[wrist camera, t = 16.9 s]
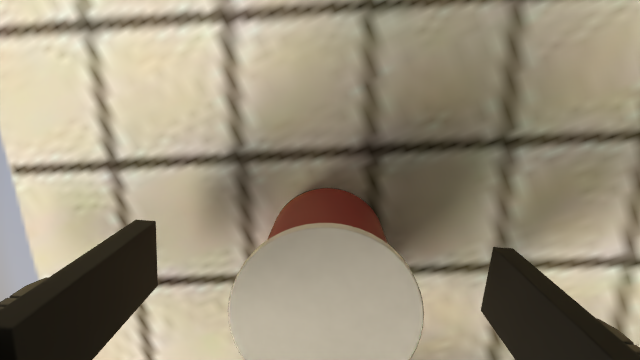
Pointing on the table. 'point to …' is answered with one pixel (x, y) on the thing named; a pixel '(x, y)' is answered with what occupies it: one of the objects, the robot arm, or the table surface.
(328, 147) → the table surface
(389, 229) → the table surface
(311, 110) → the table surface
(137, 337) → the table surface
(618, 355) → the robot arm
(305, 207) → the cylinder
